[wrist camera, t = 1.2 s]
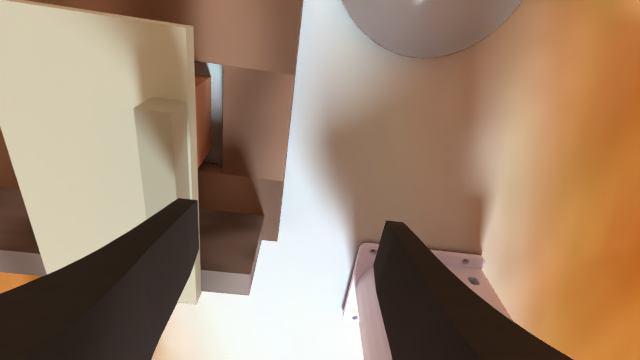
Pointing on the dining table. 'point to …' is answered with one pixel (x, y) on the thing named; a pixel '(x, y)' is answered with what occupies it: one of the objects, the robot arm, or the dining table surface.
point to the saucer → (428, 23)
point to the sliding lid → (97, 124)
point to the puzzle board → (238, 134)
